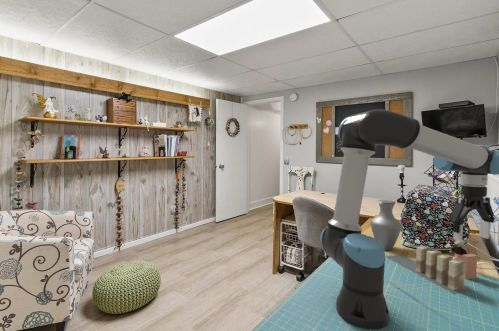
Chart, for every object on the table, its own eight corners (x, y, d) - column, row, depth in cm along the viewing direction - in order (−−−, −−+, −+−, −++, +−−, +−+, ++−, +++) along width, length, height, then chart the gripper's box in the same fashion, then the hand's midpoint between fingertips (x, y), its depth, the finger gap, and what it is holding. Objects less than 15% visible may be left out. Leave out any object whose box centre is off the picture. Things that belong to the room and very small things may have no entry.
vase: (366, 248, 132) (367, 201, 130) (373, 241, 143) (375, 197, 141) (397, 256, 122) (399, 205, 121) (403, 247, 133) (405, 200, 132)
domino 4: (453, 290, 91) (454, 263, 90) (447, 287, 93) (449, 260, 92) (463, 288, 92) (465, 261, 91) (458, 285, 94) (459, 259, 93)
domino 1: (419, 272, 104) (420, 248, 103) (415, 270, 106) (416, 247, 105) (429, 271, 105) (430, 247, 104) (425, 269, 107) (426, 246, 106)
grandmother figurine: (471, 270, 108) (473, 241, 107) (466, 272, 106) (468, 242, 106) (450, 263, 115) (452, 235, 114) (446, 264, 113) (447, 237, 112)
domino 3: (441, 283, 95) (442, 257, 95) (436, 281, 97) (437, 255, 97) (451, 282, 96) (452, 256, 96) (446, 279, 98) (447, 254, 98)
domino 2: (430, 278, 100) (431, 253, 99) (425, 275, 101) (426, 251, 101) (440, 276, 101) (441, 252, 100) (435, 274, 103) (436, 250, 102)
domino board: (454, 296, 88) (454, 294, 88) (385, 258, 120) (385, 256, 119) (474, 293, 91) (474, 290, 91) (401, 256, 122) (401, 254, 122)
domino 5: (466, 281, 99) (467, 256, 98) (460, 279, 101) (462, 254, 100) (475, 280, 100) (477, 255, 99) (470, 277, 102) (471, 253, 101)
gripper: (459, 188, 91) (456, 245, 93) (509, 185, 97) (506, 239, 99) (439, 185, 99) (436, 238, 100) (487, 183, 105) (484, 233, 106)
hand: (471, 239), depth 99 cm, fingers open, 13 cm apart
